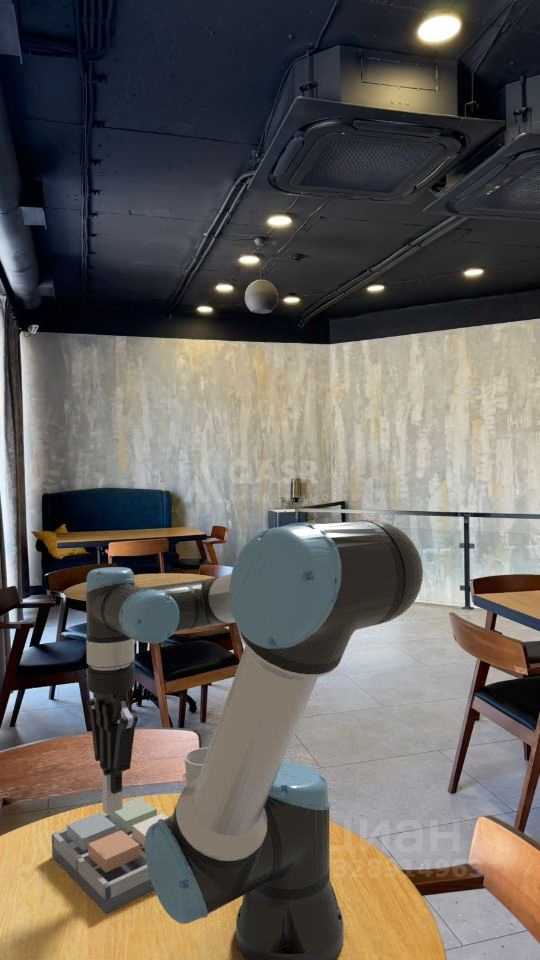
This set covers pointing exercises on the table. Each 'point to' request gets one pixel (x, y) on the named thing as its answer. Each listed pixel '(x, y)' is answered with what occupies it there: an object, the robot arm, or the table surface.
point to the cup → (194, 763)
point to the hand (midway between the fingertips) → (112, 809)
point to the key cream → (145, 828)
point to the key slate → (90, 830)
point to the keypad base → (102, 873)
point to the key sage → (133, 814)
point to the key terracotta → (113, 850)
